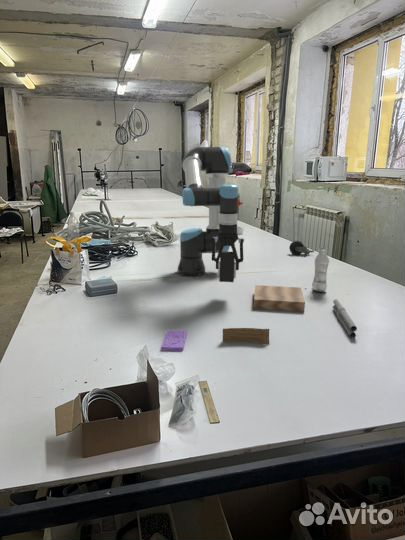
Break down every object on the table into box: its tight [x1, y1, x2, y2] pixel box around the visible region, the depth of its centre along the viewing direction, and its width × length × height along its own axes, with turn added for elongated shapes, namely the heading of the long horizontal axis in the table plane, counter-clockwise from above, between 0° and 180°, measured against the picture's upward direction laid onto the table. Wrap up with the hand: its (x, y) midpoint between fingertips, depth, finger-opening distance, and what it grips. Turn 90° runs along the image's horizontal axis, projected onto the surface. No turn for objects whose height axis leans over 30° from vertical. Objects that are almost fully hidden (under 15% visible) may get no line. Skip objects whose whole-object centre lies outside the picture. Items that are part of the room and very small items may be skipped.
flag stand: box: [236, 197, 245, 236], centre depth 300 cm, size 13×13×30 cm
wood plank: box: [222, 327, 270, 345], centre depth 122 cm, size 15×2×5 cm, turn 86°
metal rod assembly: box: [332, 298, 358, 339], centre depth 137 cm, size 26×3×5 cm, turn 174°
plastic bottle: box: [311, 247, 330, 293], centre depth 168 cm, size 6×7×20 cm
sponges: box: [161, 329, 188, 352], centre depth 123 cm, size 7×13×2 cm, turn 177°
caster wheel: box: [289, 240, 315, 257], centre depth 235 cm, size 6×10×15 cm
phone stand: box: [218, 251, 236, 283], centre depth 157 cm, size 9×6×12 cm, turn 172°
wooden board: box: [253, 284, 306, 313], centre depth 157 cm, size 20×18×4 cm
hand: (227, 276), depth 158 cm, fingers closed on phone stand, 6 cm apart
